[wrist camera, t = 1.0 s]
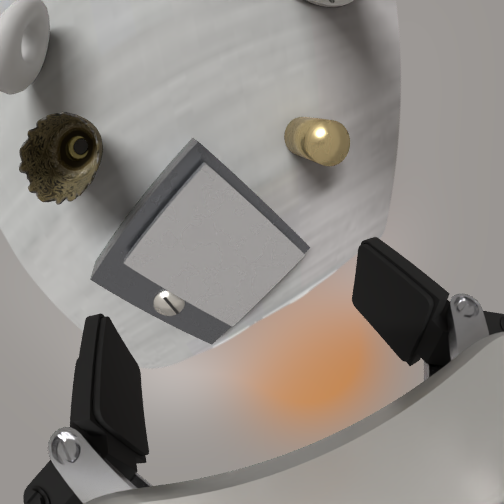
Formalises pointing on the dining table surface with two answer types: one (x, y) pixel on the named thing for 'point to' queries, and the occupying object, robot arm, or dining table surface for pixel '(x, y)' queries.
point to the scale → (145, 211)
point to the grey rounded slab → (22, 44)
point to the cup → (60, 157)
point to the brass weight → (318, 140)
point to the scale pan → (213, 248)
